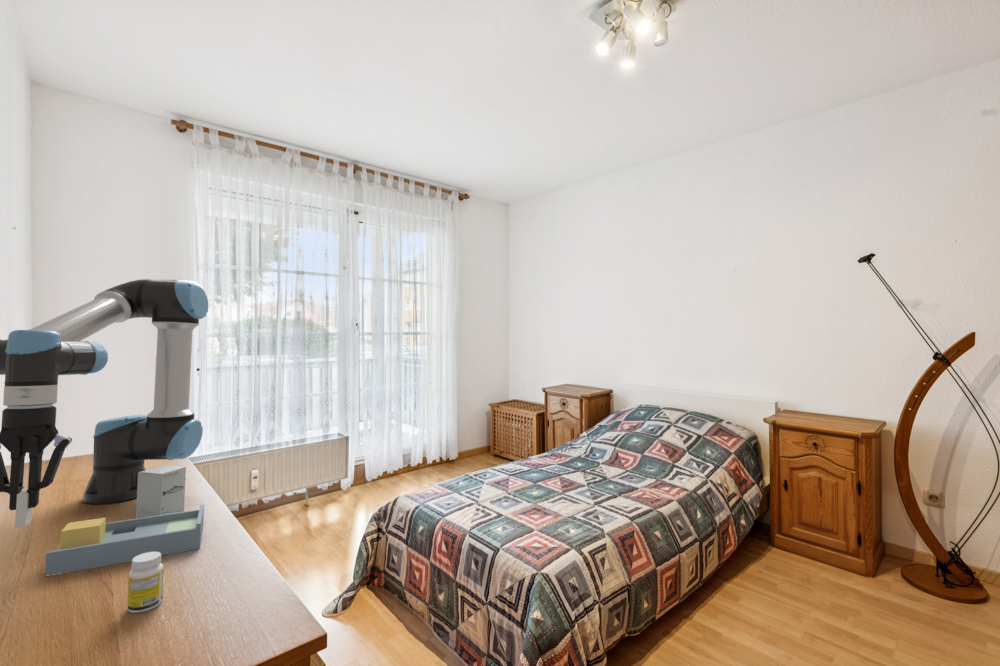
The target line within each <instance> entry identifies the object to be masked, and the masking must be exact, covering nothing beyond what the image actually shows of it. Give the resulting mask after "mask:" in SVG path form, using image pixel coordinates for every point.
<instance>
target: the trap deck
mask: <svg viewBox="0 0 1000 666" xmlns="http://www.w3.org/2000/svg"><path fill="white" fill-rule="evenodd" d="M204 512H205V504H200V505H199V509H191V510H186V511H185V510H184V512H177V513H170V514H164V515H157V516H150V517H143V518H136V517H135V518H130V519H123V520H117V521H109V522H106V527H105V537H104V538H103V540H102V542H101V543H98V544H92V545H86V546H80V547H74V548H68V549H62V550H60V544H59V546H57V548H55V550H50V551H47V552H46V553H45V566H44V567H45V568H44V569H45V571H44V577H45V576H47V575H52V574H58V573H65V574H67V573H66V572H70V573H74V572H75V571H76V572H79V571H86V570H91V569H97V568H101V567H108V566H112V565H118V564H124V563H129V562H132V559H133V558H134V557H136V556H138V555H140V554H143V553H147V552H160V553H161V557H162V556H167V555H168V556H169V555H172V554H173V555H174V554H177V553H184V552H188V551H195V550H199V549H201V546H202V545H201V544H202V543H201V542H202V537H203V532H202V531H204V514H205V513H204Z"/></svg>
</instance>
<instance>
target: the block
mask: <svg viewBox="0 0 1000 666" xmlns="http://www.w3.org/2000/svg"><path fill="white" fill-rule="evenodd" d="M106 520H107V518H106V517H100V518H99V517H98V518H93V519H84V520H78V521H73V522H68V523H67V524H66V525H65V527H63V528H62V529H61V531H60V544H59V545H60V550H62V549H68V548H74V547H80V546H86V545H92V544H98V543H101V542H102V540H103V538H104V537H105V527H106V523H107V521H106Z"/></svg>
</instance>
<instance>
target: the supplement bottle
mask: <svg viewBox="0 0 1000 666" xmlns="http://www.w3.org/2000/svg"><path fill="white" fill-rule="evenodd" d="M161 562H162V556H161V553H160V552H147V553H143V554H140V555H138V556H136V557H134V558H133V559H132V561H131V565H130V566H131V570H130V571H129V573H128V587H127V588H128V591H127V592H128V593H127V611H128V612H129V613H132V614H138V613H145V612H148V611H151V610H154V608H156V607H158V606H160V605H161V603H163V592H164V589H163V588H164V564H163V563H161Z"/></svg>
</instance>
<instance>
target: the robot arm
mask: <svg viewBox="0 0 1000 666" xmlns="http://www.w3.org/2000/svg"><path fill="white" fill-rule="evenodd" d="M208 312H209V299H208V296H207V294H206V291H205V289H204V288H203V286H202V285H200V284H199V282H195V281H194V280H185V279H184V280H183V279H151V278H150V279H149V278H147V279H146V278H144V279H143V278H142V279H141V278H140V279H136V280H132V281H128V282H124V283H121V284H118V285H115V286H113V287H110V288H107V289H105V290H103V291H101V292H99V293H97V294H96V295H95V296H94V298H93V300H91V301H88V302H87V303H84V304H82V305H80V306H78V307H75V308H73V309H71V310H68V311H67V312H65V313H63V314H61V315H57V316H55V317H54V318H52V319H50V320H48V321H45V322H43V323H41V324H39V325H37V326H35V327H31V328H29V329H16V330H15V329H14V330H12V331H10V332H9V334H8V336H7V337H8V338H7V339H3V340H2V339H0V376H4V375H5V377H4V386H3V399H2V400H3V402H2V405H3V406H5V407H7V408H4V409H3V410H2V411H1V413H2V414H1V426H0V427H1V428H0V429H1V430H0V450H1V449H2V446H3V447H4V448H5V449H6V450H7V451H8V452H10V473H9V476H10V477H9V476H8V472H7V468H6V466H5V463H4V462H5V461H4V458H3V454H2V452H1V451H0V493H6V494H9V502H8V503H9V505H8V506H9V507H8V508H9V510H10V511H15V518H14V519H15V520H14V523H15V524H14V529H17V528H25V527H27V526H28V525H29V524H30V523H32V510H33V508H36V507H37V506H38V505H39V502H40V491H41V489H44V488H48V487H49V486H50V485H51V484H53V482H54V479H55V477H56V474H57V471H58V468H59V466H60V464H61V461H62V458H63V455H64V452H65V450H66V448H67V447H68V446H69V445H70V444H71V443H72V441H73V439H72V437H69V436H68V437H66V436H64V435H61V434H59V431H58V429H57V428H56V427H57V426H56V420H57V407H56V406H55V405H54V404H57V402H58V387H59V386H58V384H59V376H69V375H70V376H71V375H72V376H73V375H74V376H75V375H84V376H86V375H88V374H94V373H98V372H100V371H101V370H103V369H104V368H105V367H106V365H107V363H108V361H109V354H108V352H107V349H106V348H105V347H104V346H103V344H100V343H97V342H91V341H88V340H86V341H85V339H87V338H89V337H91V336H93V335H95V334H96V333H98V332H99V331H101V330H103V329H105V328H106V327H109V326H111V325H113V324H115V323H116V324H118V323H119V324H120V323H124V322H126V321H128V320H129V319H138V318H150V319H151V325H153V326H154V327H155V328H156V329H157V336H156V340H157V341H156V358H155V371H154V372H155V376H154V393H153V395H154V396H153V409H152V410H151V411H150V412H149V413H147V414H135V415H127V416H121V417H120V416H119V417H115V418H114V417H113V418H110V419H109V418H108V419H104V420H103V419H102V420H101V421H99V422H98V423H96V424H95V426H94V435H93V456H92V457H93V460H92V473H91V476H90V478H89V480H88V482H87V484H86V487H85V489H84V492H83V499H82V500H83V503H85V504H91V505H92V504H93V505H97V504H98V505H102V504H111V503H112V504H113V503H119V502H126V501H130V500H133V499H137V485H138V472H141V471H145V470H146V468H145V460H146V461H148V460H150V461H151V460H153V461H155V460H158V461H159V460H160V461H161V460H167V461H173V460H182V459H187V458H189V457H190V456H192V455H193V454H194V453H195V451H197V448H198V447H199V445H200V443H201V441H202V437H203V433H204V432H203V431H204V429H203V425H202V422H201V421H200V420H198V419H196V418H195V411H193V410H192V409H191V408H190V392H191V391H190V390H191V389H190V388H191V368H192V349H193V347H192V346H193V330H195V329H196V328H197V327H198V326H199V325H200V324H199V322H200V320H201V319H204V318H205V317H206V316H207V314H208ZM53 441H54V443H53V446H54V447H55V448H54V449H53V451H52V454H51V456H50V459H49V462H48V463H47V467H46V469H45V471H44V475H43V477H42V469H43V468H42V465H43V455H44V450H45V449H46V448H47V447H48V446H49V445H50V444H51V443H52V442H53ZM27 453H28V458H29V465H28V479H27V489H26V490H23V489H24V488H25V486H24V476H25V475H24V473H25V459H26V455H27Z"/></svg>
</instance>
